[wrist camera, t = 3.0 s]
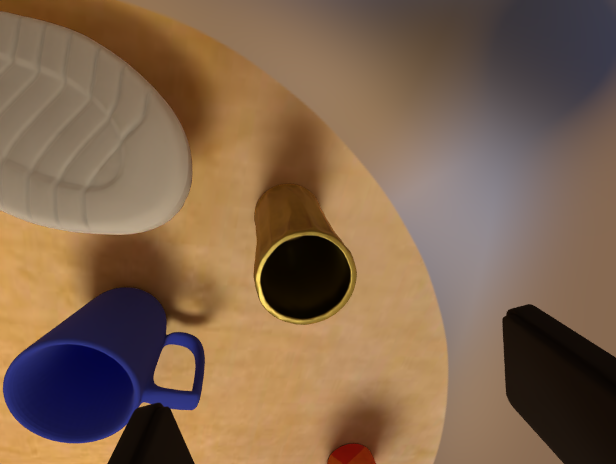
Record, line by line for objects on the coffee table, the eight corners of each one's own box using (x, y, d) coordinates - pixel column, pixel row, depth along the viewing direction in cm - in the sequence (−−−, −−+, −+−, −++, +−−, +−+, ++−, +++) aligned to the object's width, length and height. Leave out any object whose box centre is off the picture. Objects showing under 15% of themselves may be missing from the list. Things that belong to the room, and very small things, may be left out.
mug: (205, 368, 33) (182, 459, 24) (78, 343, 31) (-6, 435, 21) (226, 297, 32) (210, 366, 22) (92, 265, 29) (8, 327, 20)
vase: (245, 236, 30) (229, 316, 17) (267, 173, 29) (269, 203, 15) (307, 255, 31) (339, 345, 18) (330, 196, 30) (384, 243, 16)
